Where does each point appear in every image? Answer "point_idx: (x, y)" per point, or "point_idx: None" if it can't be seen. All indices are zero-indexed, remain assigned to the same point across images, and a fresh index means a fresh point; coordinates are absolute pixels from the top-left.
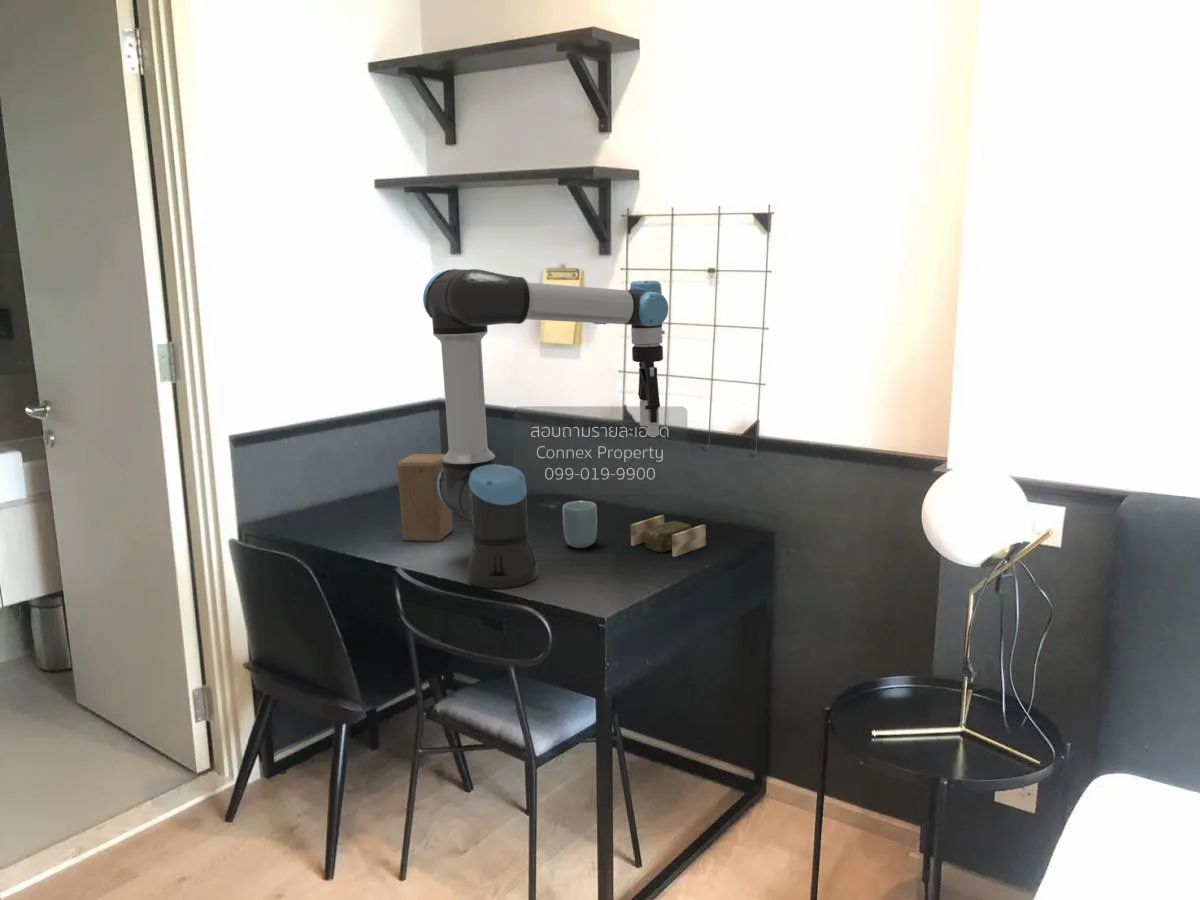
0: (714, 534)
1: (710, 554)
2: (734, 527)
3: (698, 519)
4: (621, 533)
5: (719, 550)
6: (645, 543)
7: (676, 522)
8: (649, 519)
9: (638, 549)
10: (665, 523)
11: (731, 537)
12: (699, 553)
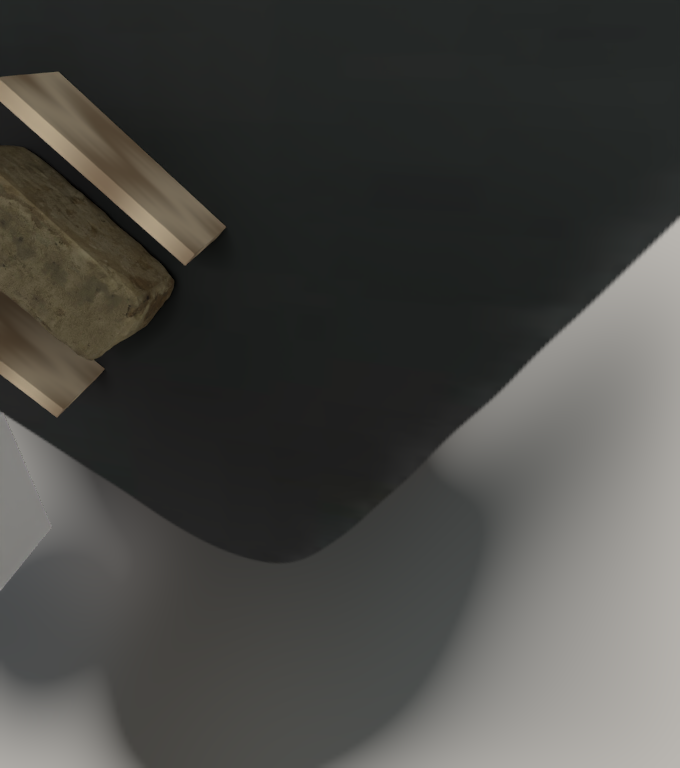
0: (237, 423)
1: None
2: (325, 498)
3: (452, 398)
4: (244, 16)
5: None
6: (3, 146)
7: (103, 310)
8: (106, 186)
9: None
10: (72, 260)
11: (203, 468)
12: None
